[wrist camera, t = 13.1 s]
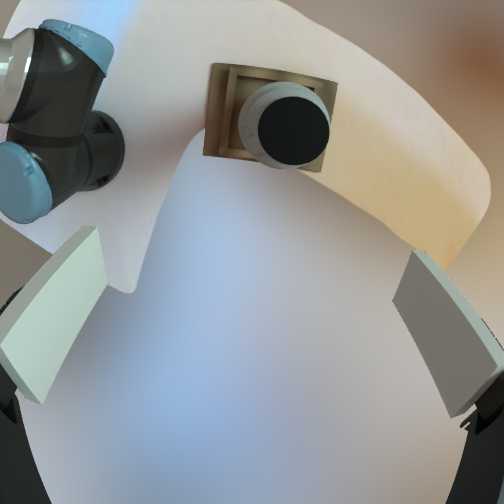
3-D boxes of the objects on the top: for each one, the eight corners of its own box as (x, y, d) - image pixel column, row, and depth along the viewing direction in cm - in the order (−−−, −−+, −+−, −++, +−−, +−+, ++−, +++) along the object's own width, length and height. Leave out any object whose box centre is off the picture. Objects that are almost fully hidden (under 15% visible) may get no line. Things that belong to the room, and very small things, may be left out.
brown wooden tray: (203, 154, 46) (200, 157, 44) (214, 63, 38) (212, 61, 36) (319, 171, 47) (323, 174, 45) (336, 83, 39) (341, 82, 37)
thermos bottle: (240, 132, 43) (220, 170, 19) (253, 87, 40) (251, 60, 15) (287, 145, 44) (328, 201, 20) (301, 101, 41) (365, 99, 16)
